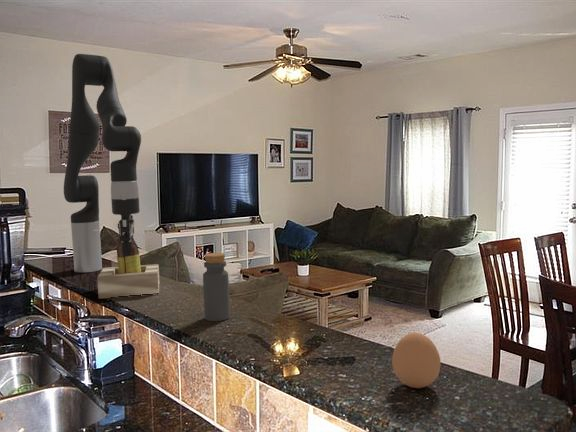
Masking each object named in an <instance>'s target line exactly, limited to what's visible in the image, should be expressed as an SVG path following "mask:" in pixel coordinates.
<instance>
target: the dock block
mask: <svg viewBox="0 0 576 432" xmlns="http://www.w3.org/2000/svg"><path fill="white" fill-rule="evenodd" d="M140 267H141V273H127V274H119V272H118V266H114V267H113V266H112V267H111V266H110V267H102V269H101V270H100V272H99V274H98V275H97V277H96V278H97V281H96V282H97V294H98V300H99V299H101V300H102V299H112V298H111V297H115V298H119V297H118V296H128V297H130V296H129V295H140V294H141V296H143V295H142V294H153V293H160V285H161V282H160V268H159V267H160V265H159V264H158V263H155V264H140ZM159 284H160V285H159ZM153 295H154V294H153Z"/></svg>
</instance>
